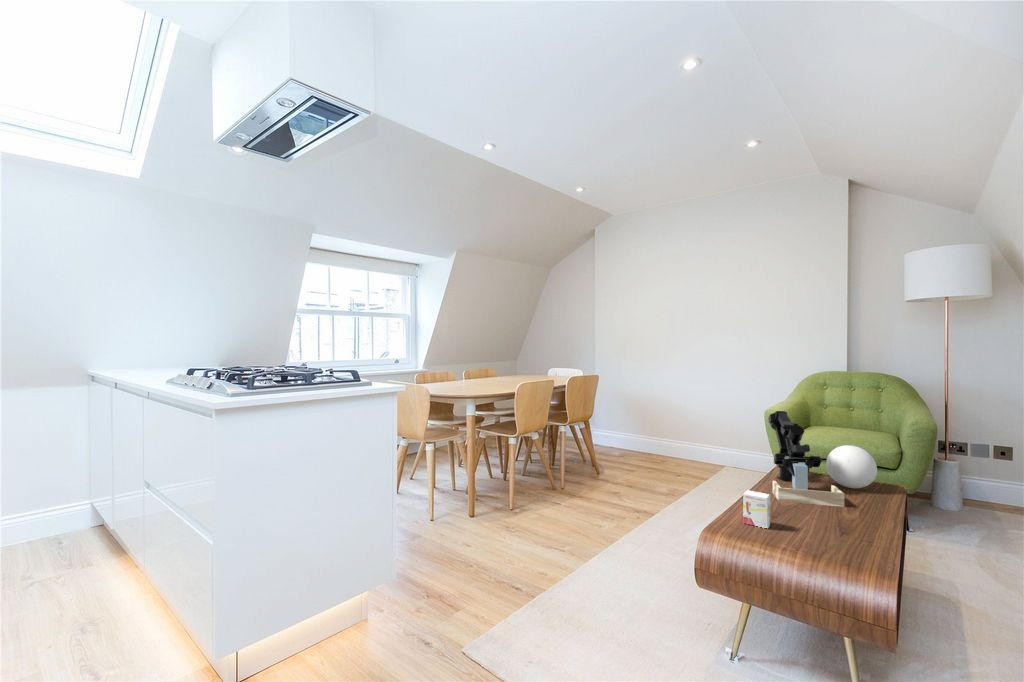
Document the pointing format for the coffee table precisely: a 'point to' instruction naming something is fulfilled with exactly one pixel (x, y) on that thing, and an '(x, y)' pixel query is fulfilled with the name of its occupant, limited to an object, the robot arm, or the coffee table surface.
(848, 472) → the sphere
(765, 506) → the ink box
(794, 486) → the pale blue block
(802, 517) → the coffee table surface
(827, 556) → the coffee table surface
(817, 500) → the birch crate
